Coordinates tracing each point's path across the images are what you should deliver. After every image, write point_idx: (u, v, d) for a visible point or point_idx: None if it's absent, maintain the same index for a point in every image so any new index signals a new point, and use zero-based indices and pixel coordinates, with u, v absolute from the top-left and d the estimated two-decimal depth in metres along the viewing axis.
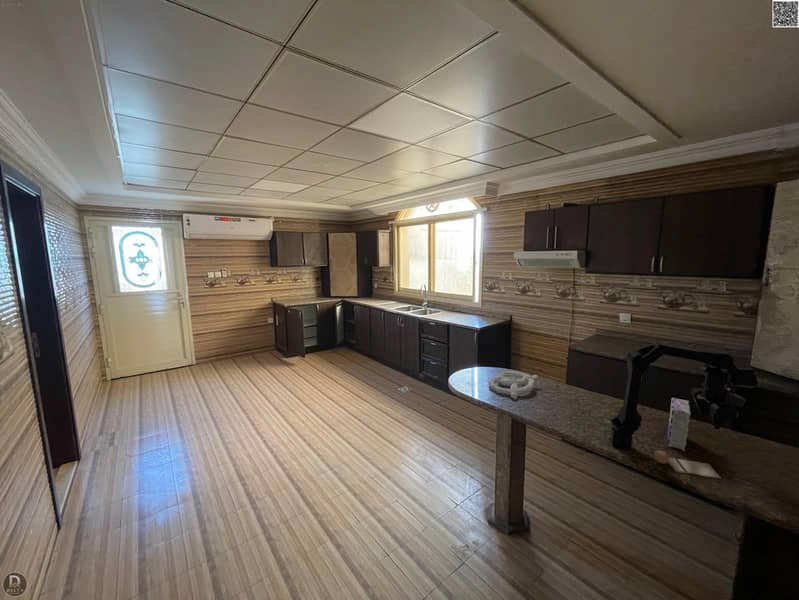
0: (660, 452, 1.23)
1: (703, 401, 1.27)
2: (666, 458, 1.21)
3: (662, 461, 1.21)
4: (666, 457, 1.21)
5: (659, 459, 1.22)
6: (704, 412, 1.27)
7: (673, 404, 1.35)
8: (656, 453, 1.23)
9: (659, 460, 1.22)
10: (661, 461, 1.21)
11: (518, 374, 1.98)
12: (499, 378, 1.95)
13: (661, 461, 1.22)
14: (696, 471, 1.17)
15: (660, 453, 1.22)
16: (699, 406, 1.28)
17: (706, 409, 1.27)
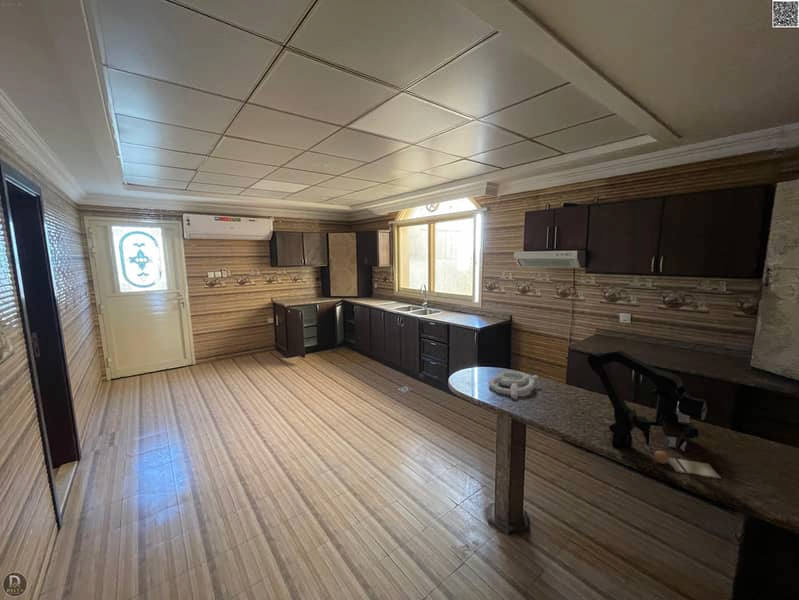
0: (660, 452, 1.23)
1: None
2: (666, 458, 1.21)
3: (662, 461, 1.21)
4: (666, 457, 1.21)
5: (659, 459, 1.22)
6: (677, 444, 1.21)
7: None
8: (656, 453, 1.23)
9: (659, 460, 1.22)
10: (661, 461, 1.21)
11: (518, 374, 1.98)
12: (499, 378, 1.95)
13: (661, 461, 1.22)
14: (696, 471, 1.17)
15: (660, 453, 1.22)
16: (677, 437, 1.22)
17: (678, 442, 1.20)
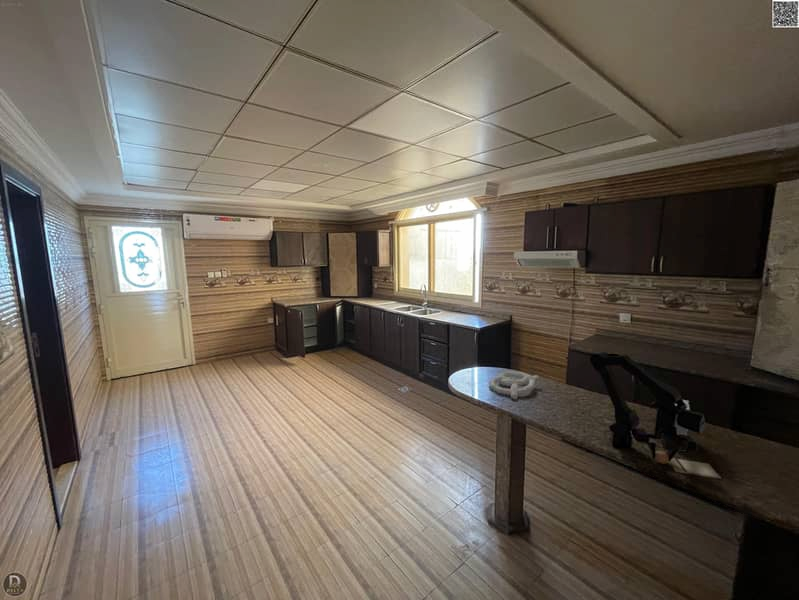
0: (660, 452, 1.23)
1: None
2: (666, 458, 1.21)
3: (662, 461, 1.21)
4: (666, 457, 1.21)
5: (659, 459, 1.22)
6: (668, 456, 1.22)
7: None
8: (656, 453, 1.23)
9: (659, 460, 1.22)
10: (661, 461, 1.21)
11: (519, 374, 1.98)
12: (500, 378, 1.95)
13: (661, 461, 1.22)
14: (696, 471, 1.17)
15: (660, 453, 1.22)
16: None
17: (670, 453, 1.21)
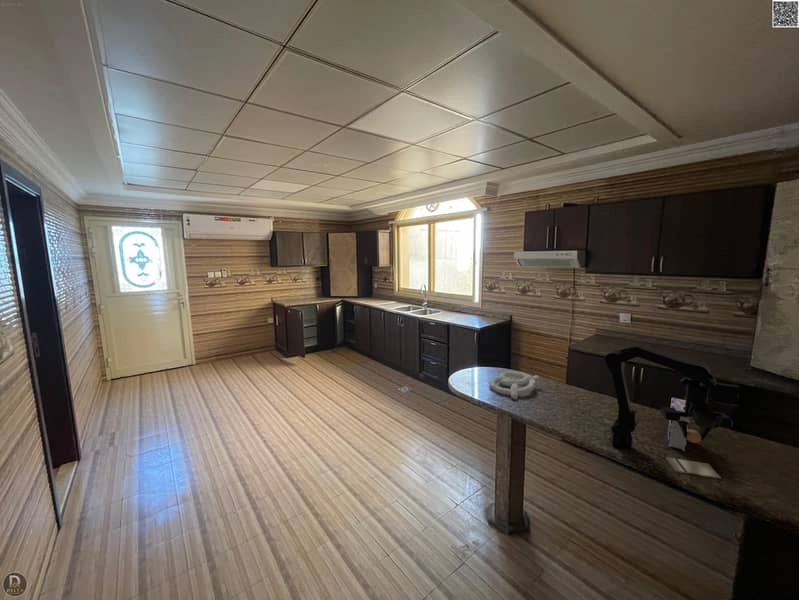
0: (692, 431, 1.17)
1: None
2: (699, 437, 1.16)
3: (694, 440, 1.16)
4: (699, 436, 1.16)
5: (691, 438, 1.17)
6: (701, 434, 1.17)
7: (673, 404, 1.35)
8: (688, 432, 1.18)
9: (691, 439, 1.17)
10: (693, 440, 1.16)
11: (519, 374, 1.97)
12: (500, 378, 1.95)
13: (693, 440, 1.16)
14: (696, 471, 1.17)
15: (691, 431, 1.17)
16: (701, 427, 1.18)
17: (703, 432, 1.16)
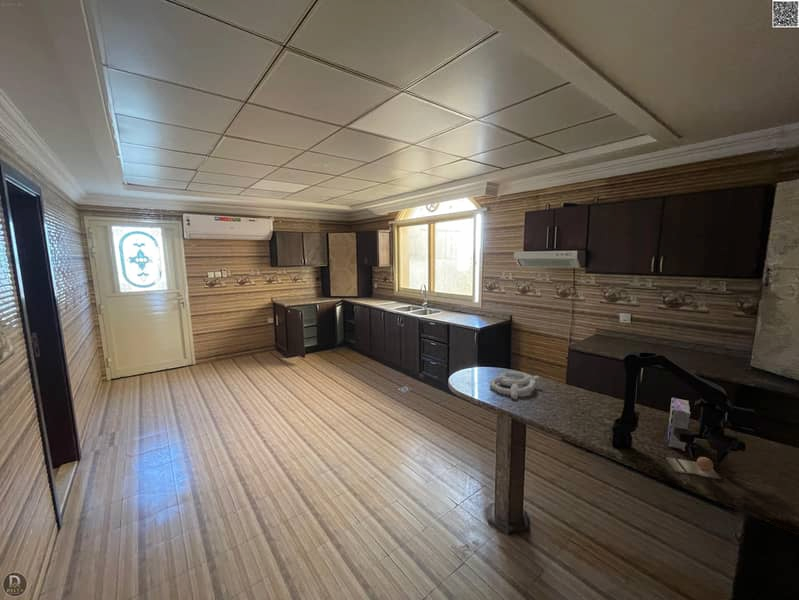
0: (704, 458, 1.18)
1: None
2: (711, 465, 1.16)
3: (707, 468, 1.16)
4: (711, 464, 1.16)
5: (703, 466, 1.17)
6: (718, 457, 1.17)
7: (673, 404, 1.35)
8: (700, 459, 1.18)
9: (703, 467, 1.17)
10: (706, 468, 1.17)
11: (520, 374, 1.97)
12: (500, 378, 1.95)
13: (705, 468, 1.17)
14: (696, 471, 1.17)
15: (704, 459, 1.17)
16: (718, 450, 1.18)
17: (720, 455, 1.16)
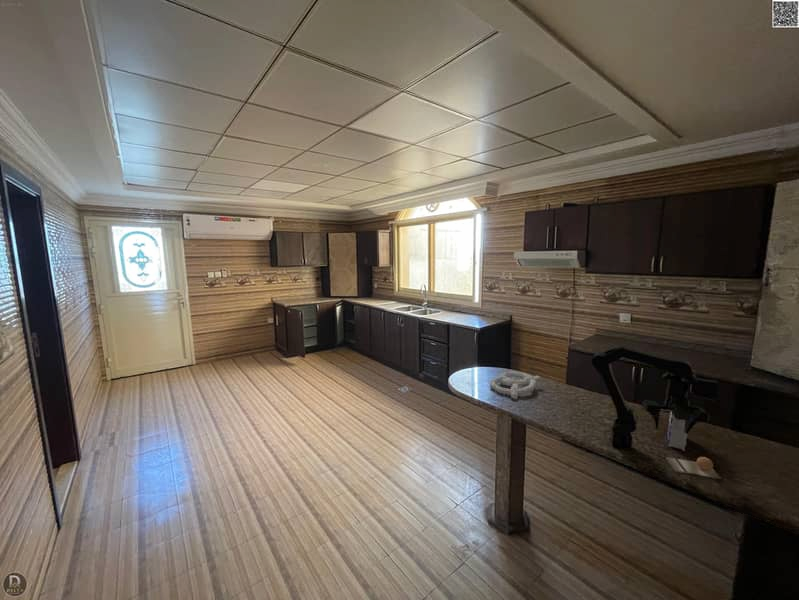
0: (704, 458, 1.18)
1: None
2: (711, 464, 1.16)
3: (706, 468, 1.16)
4: (710, 463, 1.16)
5: (703, 466, 1.17)
6: (686, 428, 1.22)
7: None
8: (699, 459, 1.18)
9: (703, 467, 1.17)
10: (705, 468, 1.17)
11: (520, 374, 1.97)
12: (501, 378, 1.95)
13: (705, 468, 1.17)
14: (696, 471, 1.17)
15: (703, 459, 1.18)
16: (686, 421, 1.23)
17: (688, 426, 1.21)
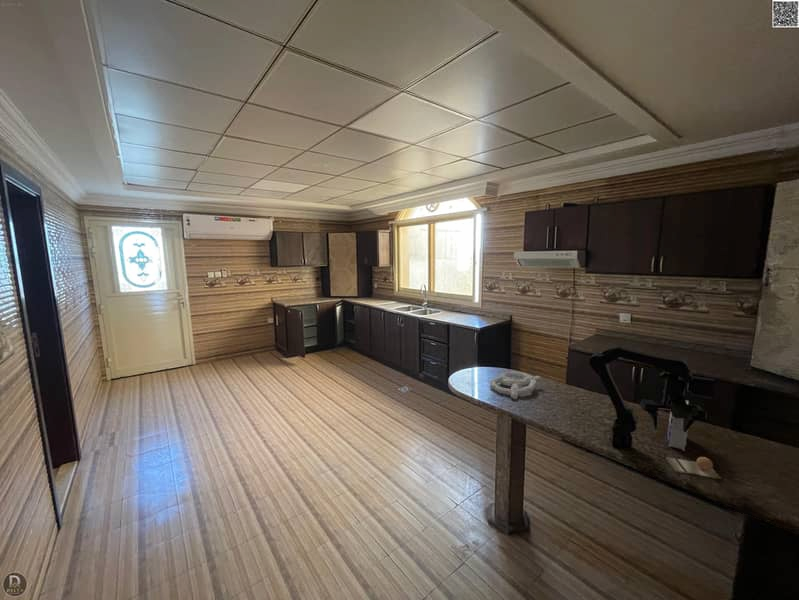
0: (703, 458, 1.18)
1: None
2: (710, 464, 1.16)
3: (706, 468, 1.16)
4: (710, 463, 1.16)
5: (703, 466, 1.17)
6: (684, 427, 1.22)
7: None
8: (699, 459, 1.18)
9: (703, 467, 1.17)
10: (705, 468, 1.17)
11: (521, 374, 1.97)
12: (501, 378, 1.95)
13: (705, 468, 1.17)
14: (696, 471, 1.17)
15: (703, 459, 1.18)
16: (684, 420, 1.23)
17: (686, 424, 1.21)
